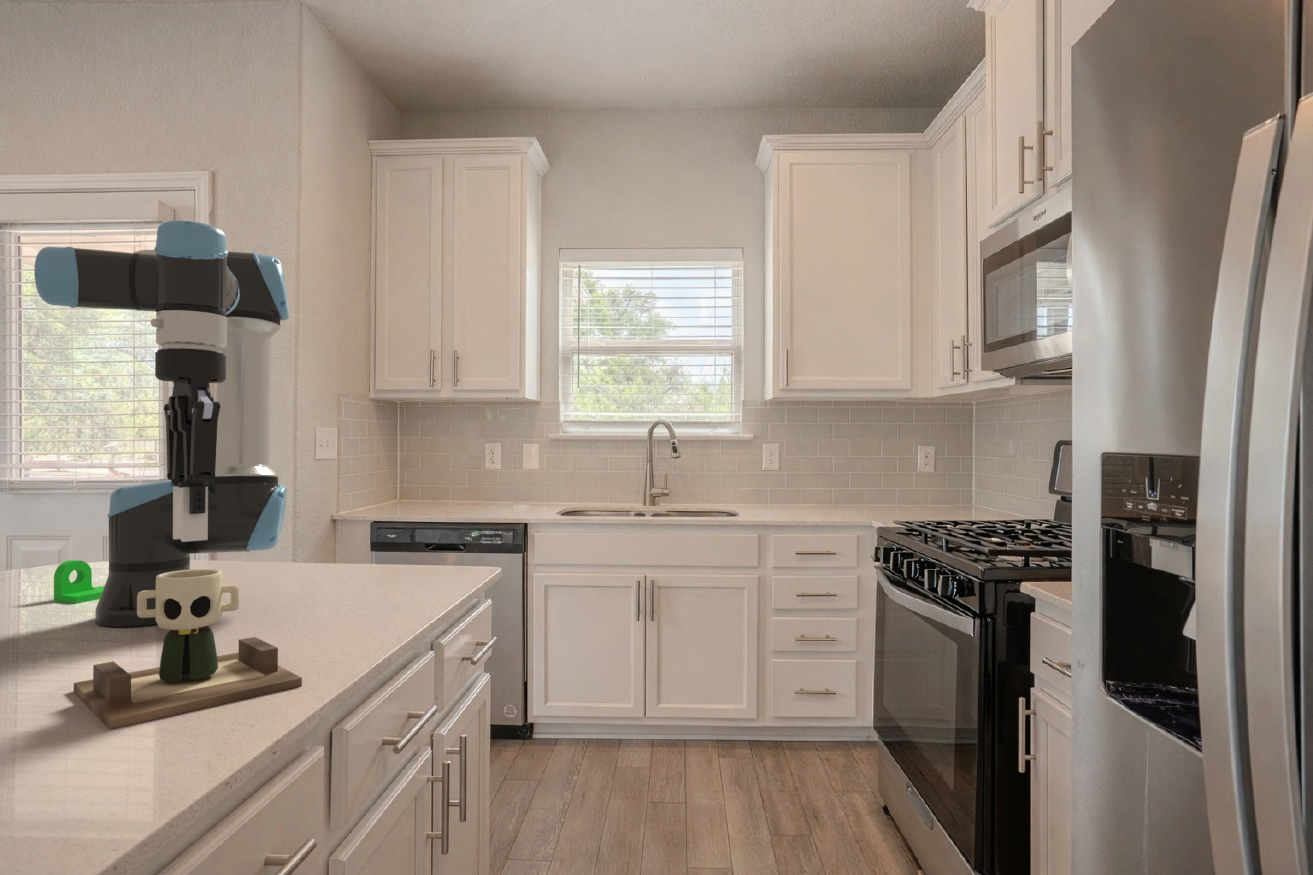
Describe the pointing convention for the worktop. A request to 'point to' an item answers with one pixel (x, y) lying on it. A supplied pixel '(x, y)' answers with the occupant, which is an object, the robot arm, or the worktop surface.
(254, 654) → the seating jig
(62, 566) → the mechanical part
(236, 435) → the robot arm
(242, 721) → the worktop surface
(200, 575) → the character mug
